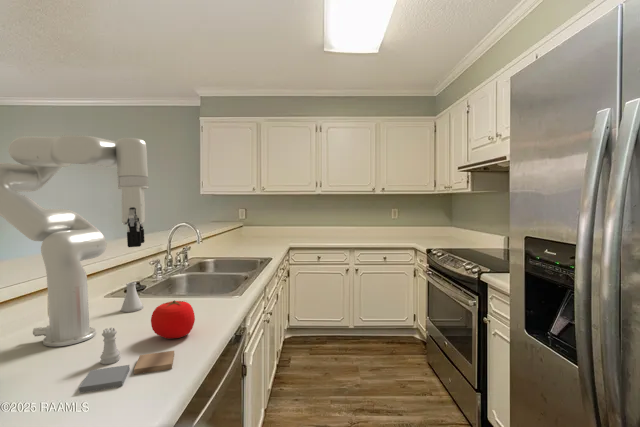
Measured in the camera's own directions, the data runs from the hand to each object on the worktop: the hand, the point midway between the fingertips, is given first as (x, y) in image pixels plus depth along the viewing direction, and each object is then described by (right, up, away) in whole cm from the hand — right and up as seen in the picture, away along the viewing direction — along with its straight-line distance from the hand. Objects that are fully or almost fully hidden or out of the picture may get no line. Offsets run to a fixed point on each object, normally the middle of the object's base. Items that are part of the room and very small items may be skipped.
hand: (136, 244), depth 100 cm
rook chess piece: (-1, -28, -11) cm, 30 cm away
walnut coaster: (+11, -28, -13) cm, 33 cm away
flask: (-18, -27, +32) cm, 46 cm away
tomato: (+9, -28, +5) cm, 29 cm away
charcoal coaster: (+4, -28, -21) cm, 35 cm away
